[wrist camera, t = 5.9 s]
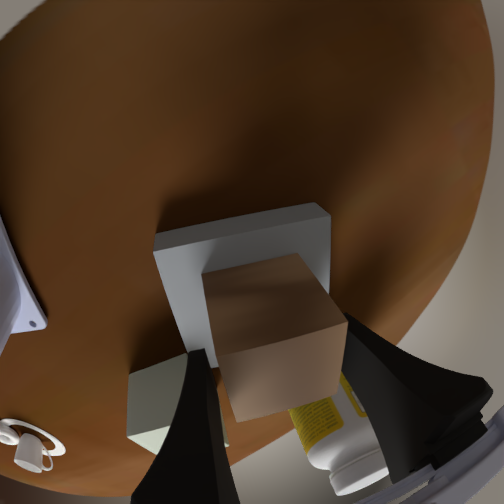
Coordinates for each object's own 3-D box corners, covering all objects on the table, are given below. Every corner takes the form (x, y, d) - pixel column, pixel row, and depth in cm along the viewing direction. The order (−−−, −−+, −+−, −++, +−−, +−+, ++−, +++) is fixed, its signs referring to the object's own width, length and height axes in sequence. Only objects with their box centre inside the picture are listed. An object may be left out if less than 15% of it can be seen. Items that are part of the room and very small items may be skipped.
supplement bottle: (277, 397, 22) (319, 506, 14) (274, 353, 20) (330, 488, 11) (341, 377, 23) (395, 474, 15) (348, 331, 20) (423, 444, 12)
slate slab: (191, 341, 18) (194, 371, 16) (156, 228, 14) (153, 251, 12) (310, 313, 20) (326, 338, 17) (309, 198, 16) (330, 215, 13)
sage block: (164, 405, 20) (169, 461, 16) (129, 373, 18) (126, 436, 14) (216, 387, 20) (229, 445, 16) (185, 352, 18) (193, 418, 14)
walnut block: (218, 343, 16) (237, 422, 11) (201, 273, 13) (215, 356, 9) (299, 323, 16) (336, 393, 12) (297, 252, 14) (348, 321, 10)
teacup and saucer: (-11, 423, 19) (-17, 451, 15) (1, 401, 17) (-9, 435, 14) (53, 457, 23) (50, 485, 19) (76, 441, 22) (73, 475, 18)
